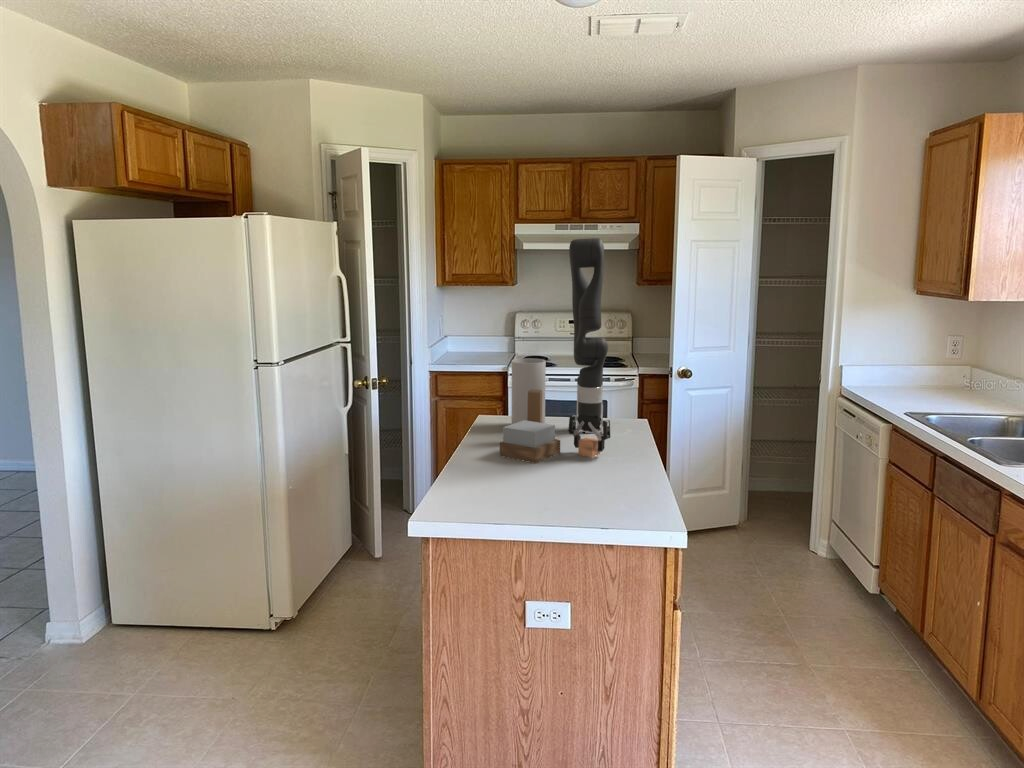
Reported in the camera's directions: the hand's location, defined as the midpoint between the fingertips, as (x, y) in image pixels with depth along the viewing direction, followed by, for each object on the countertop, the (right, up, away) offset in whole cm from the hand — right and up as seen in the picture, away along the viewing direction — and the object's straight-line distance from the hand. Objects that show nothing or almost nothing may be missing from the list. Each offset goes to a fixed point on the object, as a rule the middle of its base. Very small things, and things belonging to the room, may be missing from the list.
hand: (588, 449), depth 238 cm
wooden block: (-15, +1, +15) cm, 21 cm away
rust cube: (0, -2, +1) cm, 2 cm away
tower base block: (-19, -2, 0) cm, 19 cm away
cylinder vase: (-19, +5, +38) cm, 43 cm away
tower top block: (-19, +3, -1) cm, 19 cm away
